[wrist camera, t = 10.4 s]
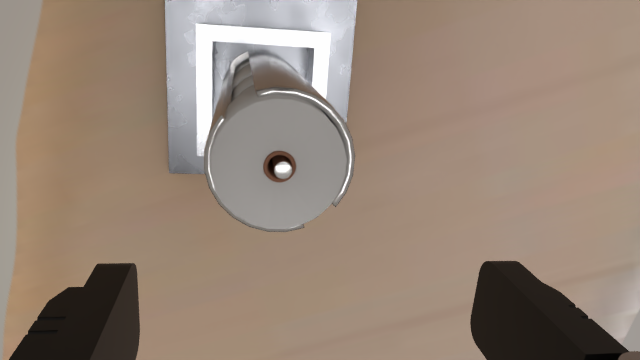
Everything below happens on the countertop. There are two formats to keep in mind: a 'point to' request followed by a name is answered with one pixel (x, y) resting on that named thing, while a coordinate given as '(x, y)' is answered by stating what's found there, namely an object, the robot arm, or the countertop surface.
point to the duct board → (237, 38)
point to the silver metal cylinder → (275, 146)
